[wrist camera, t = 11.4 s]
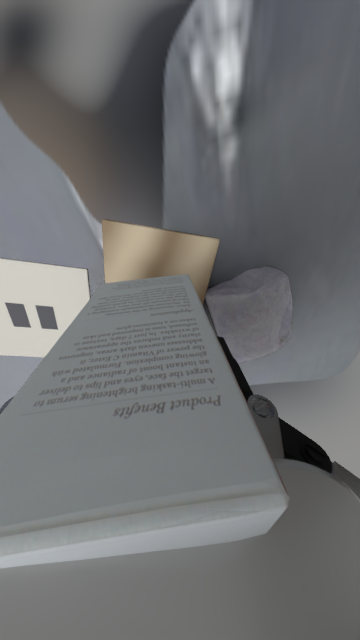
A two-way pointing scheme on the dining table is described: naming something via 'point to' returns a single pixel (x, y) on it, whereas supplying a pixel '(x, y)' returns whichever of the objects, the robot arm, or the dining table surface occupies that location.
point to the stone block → (252, 312)
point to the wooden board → (156, 254)
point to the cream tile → (38, 305)
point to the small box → (133, 436)
